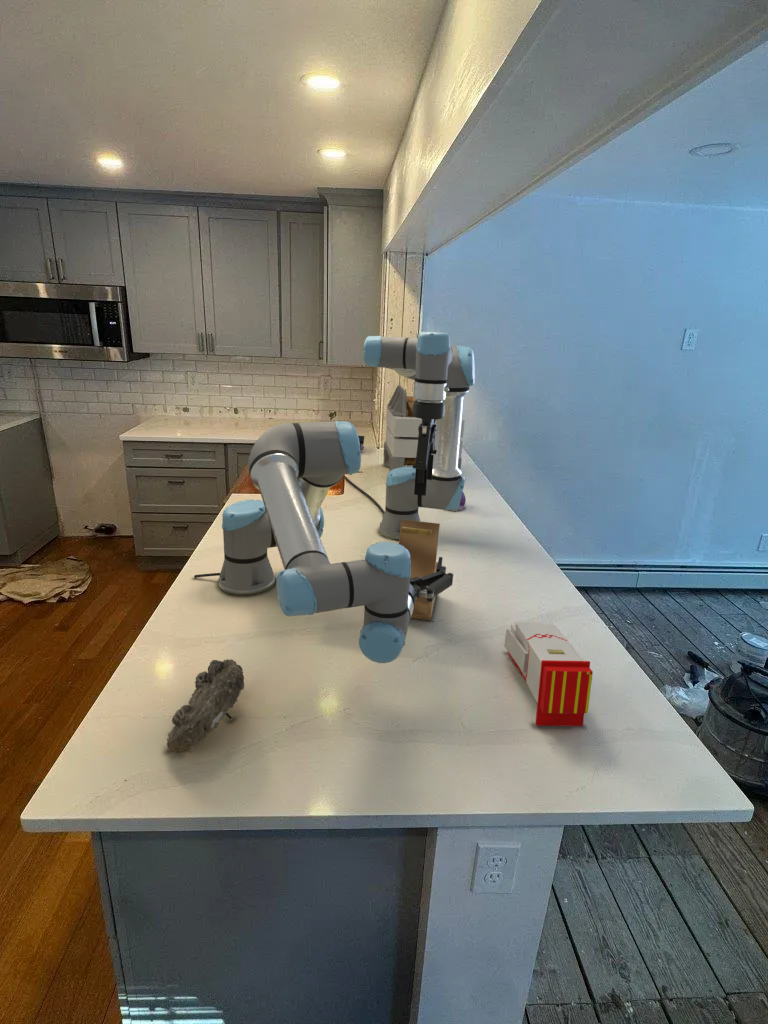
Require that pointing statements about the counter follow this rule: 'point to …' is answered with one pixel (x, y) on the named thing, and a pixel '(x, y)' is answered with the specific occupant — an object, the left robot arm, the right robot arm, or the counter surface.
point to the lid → (420, 545)
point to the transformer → (404, 432)
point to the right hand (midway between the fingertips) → (423, 486)
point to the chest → (423, 607)
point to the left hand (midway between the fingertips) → (410, 558)
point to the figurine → (461, 502)
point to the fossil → (206, 705)
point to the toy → (551, 672)
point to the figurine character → (361, 442)
